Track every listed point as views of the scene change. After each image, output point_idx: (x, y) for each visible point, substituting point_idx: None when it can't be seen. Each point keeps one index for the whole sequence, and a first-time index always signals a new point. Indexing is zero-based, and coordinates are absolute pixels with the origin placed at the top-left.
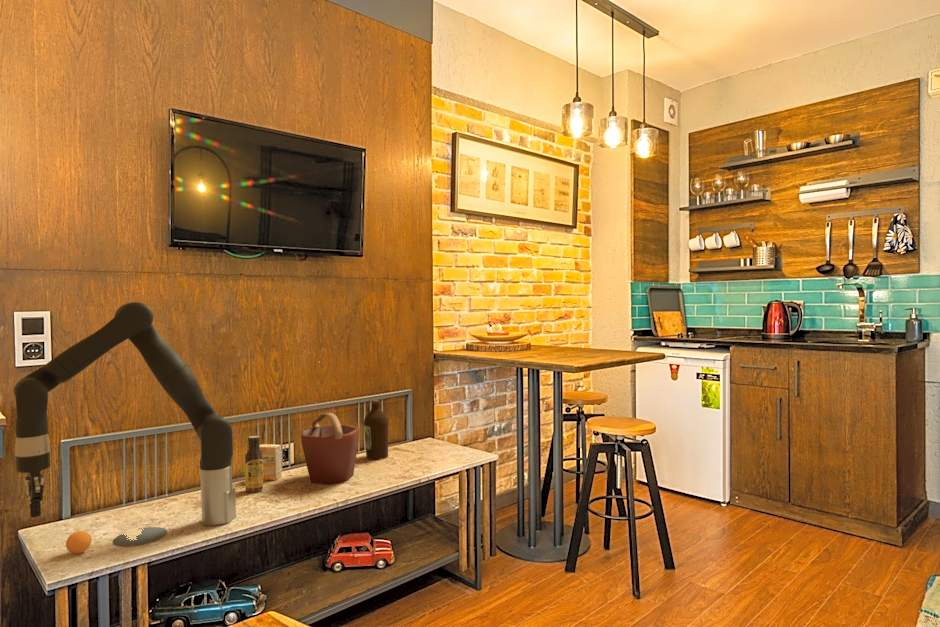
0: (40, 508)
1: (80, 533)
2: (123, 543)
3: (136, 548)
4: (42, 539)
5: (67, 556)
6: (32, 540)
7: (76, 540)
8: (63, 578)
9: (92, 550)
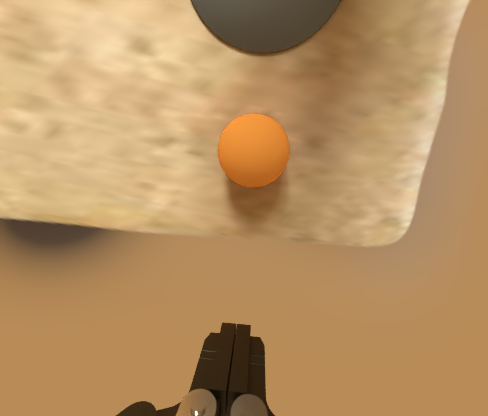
0: (248, 353)
1: (269, 148)
2: (292, 28)
3: (370, 7)
4: (62, 195)
5: None
6: (53, 214)
7: (283, 165)
8: (408, 225)
9: None
